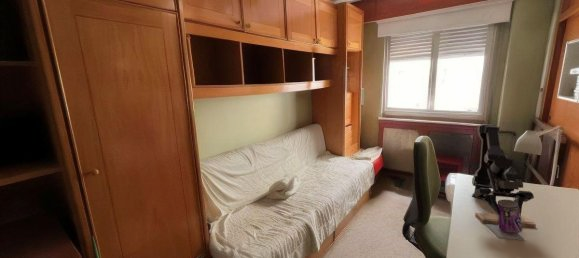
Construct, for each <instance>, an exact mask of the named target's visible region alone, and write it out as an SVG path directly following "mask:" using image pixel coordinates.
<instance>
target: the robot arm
mask: <svg viewBox="0 0 579 258" xmlns="http://www.w3.org/2000/svg"><path fill="white" fill-rule="evenodd" d="M500 130H501V127H500V126H497V125H496V124H487V123H480V125H478V126H477V135H478V137H479V139H480V140H481V144H480V145H481V147H480V157H479V158H480V159H479V168H478V169H476V171H475V174H473V176H472V178H471V179H472V180H471V184H472V186H473V187H474V191H473V193H472V195H471V197H473V198H477V199H481V200H482V201H485V202H486V204H488V205H489V206H490V207H491V209H492V210H493V211H494V212H495V214H498V215H499V214H500V212H499V208H498V205H497V204H498V201H497V197H500V198H501V197H502V198H513V201H515V202H517V203H518V206H519V208H520V215H521V216H522V210H523V204H524V203H527V202H529V201H531V200H533V199H535V196H534V193H533V192H531V191H528V190H520V189H521V188H522V189H523V188H524V183H523V180H522V179H513V181H511V180H510V179H509V178H507V175H506V174H507V173H508V172H509V171H510V169H511V168H512V167H513V163H512V160H510V158H508V156H507V155H506V152H505V151H504V149H502V148H501V143H500V138H499V134H500ZM491 189H492V190H491ZM515 190H517V192H514V191H515Z"/></svg>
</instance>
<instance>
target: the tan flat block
mask: <svg viewBox="0 0 579 258" xmlns="http://www.w3.org/2000/svg"><path fill="white" fill-rule="evenodd" d="M474 215H475V217H476V218H477V220H479V221H480V223H482V224H491V225H499V223H498V214H497V213H485V212H475V213H474ZM536 225H537V223H535V221H532V220H531V219H530V218H528V216H523V215H521V226H522V227H529V228H536Z"/></svg>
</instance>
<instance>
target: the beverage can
mask: <svg viewBox="0 0 579 258" xmlns="http://www.w3.org/2000/svg"><path fill="white" fill-rule="evenodd" d="M497 205H498V208H499V212H500V214H499V215H498V223H499V224H498V225H499V228H500V229H501V230H503V231H505V232H508V233H518V234H520V233H521V232H522V231H523V228H522V227H523V226H521V216H522V214H521V215H520V208H519V206H518V203H517V202H515V201H514V200H512V199H500V200H498V201H497Z"/></svg>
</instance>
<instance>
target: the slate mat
mask: <svg viewBox="0 0 579 258" xmlns="http://www.w3.org/2000/svg"><path fill="white" fill-rule="evenodd" d="M485 226H486V227H487V228H488V229H489V230H490V231H491V232H492V233H493V234H494V235H495V236H496V237H497V238H499V239H511V240H519V241H520V240H521V241H525V240H526V238H524V237H523V236H522V235H521V234H520V233H508V232H505V231H503V230H501V229H500V228H499V224H491V223H485Z"/></svg>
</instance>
